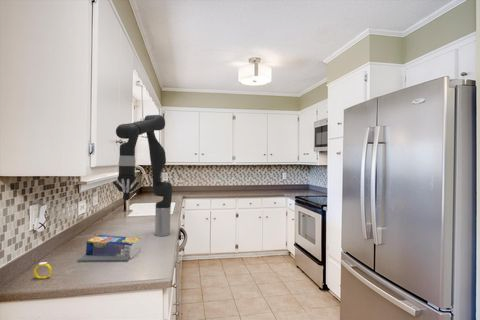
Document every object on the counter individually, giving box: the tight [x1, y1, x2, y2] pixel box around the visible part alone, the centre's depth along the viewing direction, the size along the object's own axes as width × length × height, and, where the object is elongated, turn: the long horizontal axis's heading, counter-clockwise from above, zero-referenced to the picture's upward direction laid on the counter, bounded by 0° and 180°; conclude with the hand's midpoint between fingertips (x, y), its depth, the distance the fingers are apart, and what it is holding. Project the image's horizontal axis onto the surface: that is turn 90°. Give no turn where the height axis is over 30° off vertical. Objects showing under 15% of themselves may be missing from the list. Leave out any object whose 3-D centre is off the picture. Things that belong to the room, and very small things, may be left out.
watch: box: [33, 261, 53, 280], centre depth 110 cm, size 6×3×6 cm, turn 97°
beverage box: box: [85, 234, 142, 260], centre depth 139 cm, size 7×11×22 cm
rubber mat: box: [76, 253, 131, 263], centre depth 136 cm, size 16×22×1 cm
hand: (126, 200), depth 138 cm, fingers closed
